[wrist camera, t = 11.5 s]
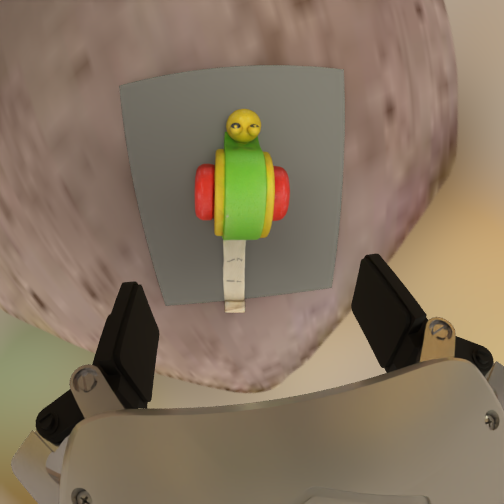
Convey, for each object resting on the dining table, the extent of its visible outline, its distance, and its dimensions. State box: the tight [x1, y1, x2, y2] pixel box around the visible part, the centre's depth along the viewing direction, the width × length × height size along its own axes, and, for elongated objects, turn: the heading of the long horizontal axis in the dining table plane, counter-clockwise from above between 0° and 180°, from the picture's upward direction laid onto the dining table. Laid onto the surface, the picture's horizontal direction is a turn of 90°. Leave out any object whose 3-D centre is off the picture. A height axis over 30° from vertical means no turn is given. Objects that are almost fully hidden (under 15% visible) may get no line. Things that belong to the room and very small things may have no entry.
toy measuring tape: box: [195, 109, 290, 313], centre depth 21 cm, size 6×19×7 cm, turn 176°
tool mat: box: [119, 65, 345, 306], centre depth 23 cm, size 18×22×1 cm
